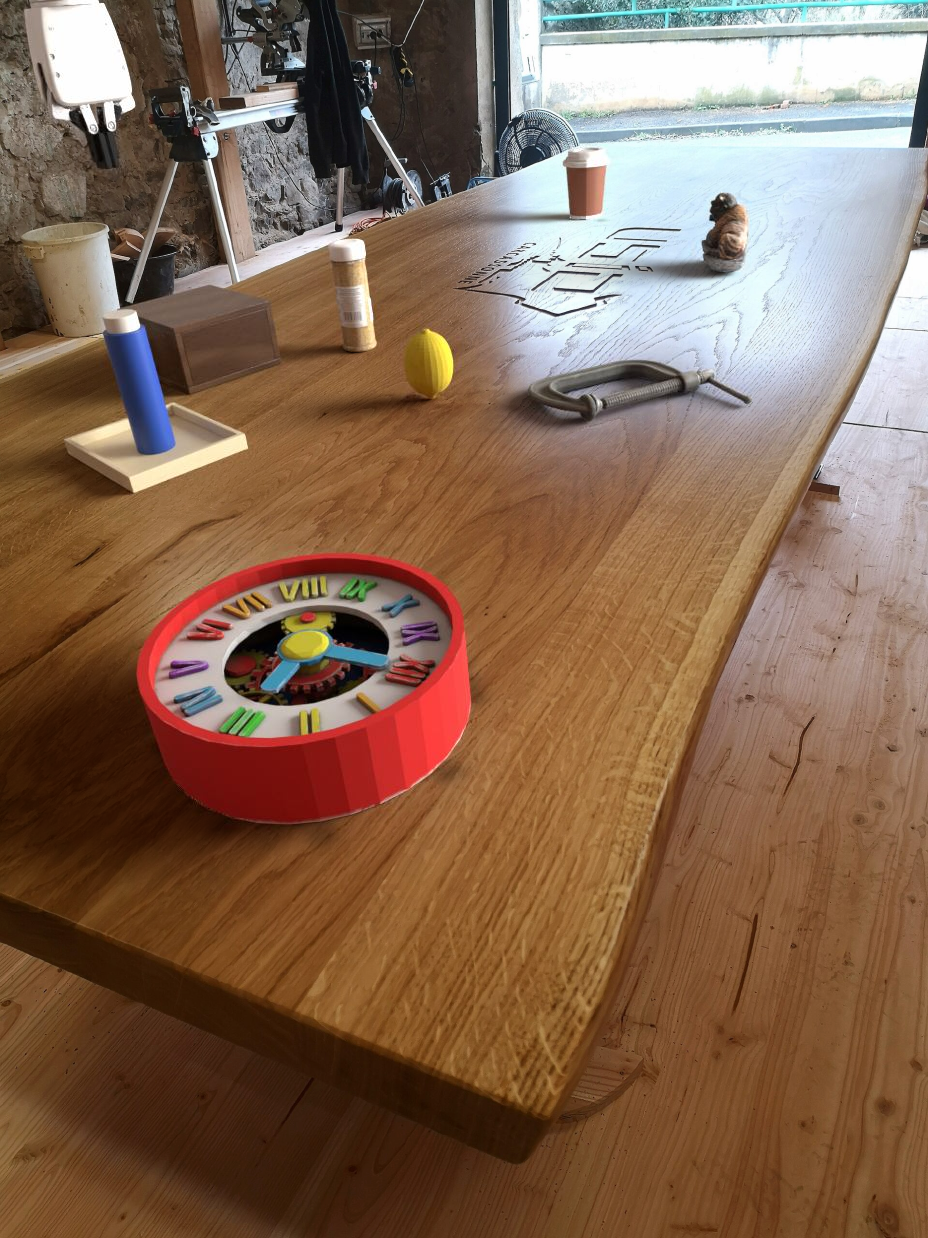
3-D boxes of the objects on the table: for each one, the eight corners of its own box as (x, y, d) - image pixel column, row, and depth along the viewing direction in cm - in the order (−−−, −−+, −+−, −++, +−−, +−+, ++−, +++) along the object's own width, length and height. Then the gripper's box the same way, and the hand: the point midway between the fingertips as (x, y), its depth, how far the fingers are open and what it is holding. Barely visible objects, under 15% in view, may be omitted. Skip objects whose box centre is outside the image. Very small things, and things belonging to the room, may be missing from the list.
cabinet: (134, 371, 119) (116, 308, 114) (222, 343, 126) (209, 284, 122) (189, 394, 110) (173, 328, 105) (281, 363, 117) (269, 300, 113)
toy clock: (253, 537, 66) (509, 574, 59) (268, 603, 69) (513, 646, 63) (62, 705, 51) (376, 782, 44) (93, 779, 54) (390, 861, 48)
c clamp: (665, 359, 108) (666, 337, 107) (752, 405, 95) (755, 380, 93) (512, 391, 103) (511, 368, 102) (581, 445, 90) (582, 419, 88)
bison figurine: (751, 275, 136) (759, 204, 131) (704, 278, 137) (710, 206, 131) (738, 256, 146) (745, 189, 140) (694, 259, 147) (699, 192, 141)
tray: (68, 453, 97) (63, 439, 96) (176, 415, 104) (173, 401, 103) (133, 493, 88) (128, 477, 87) (248, 448, 95) (245, 433, 94)
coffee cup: (585, 209, 186) (585, 145, 179) (618, 214, 180) (619, 147, 173) (553, 217, 182) (552, 151, 175) (586, 222, 176) (586, 154, 169)
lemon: (464, 393, 104) (459, 323, 99) (439, 410, 100) (433, 338, 95) (424, 387, 106) (417, 319, 102) (398, 403, 102) (390, 333, 98)
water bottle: (130, 448, 96) (90, 315, 88) (164, 436, 98) (128, 305, 90) (148, 458, 93) (109, 322, 85) (182, 445, 95) (147, 311, 87)
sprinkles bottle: (382, 343, 121) (370, 237, 114) (366, 354, 118) (352, 246, 110) (353, 341, 123) (338, 236, 115) (336, 351, 120) (320, 245, 112)
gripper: (107, -11, 110) (147, 157, 120) (-16, -4, 101) (39, 175, 112) (136, -15, 105) (175, 159, 115) (9, -8, 97) (64, 179, 107)
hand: (108, 167), depth 114 cm, fingers closed
